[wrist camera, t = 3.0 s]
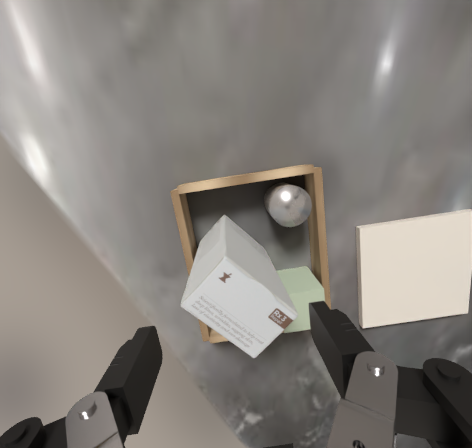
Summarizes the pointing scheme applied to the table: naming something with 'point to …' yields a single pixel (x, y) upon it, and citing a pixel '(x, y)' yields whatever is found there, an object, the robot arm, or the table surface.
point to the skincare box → (237, 289)
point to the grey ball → (288, 204)
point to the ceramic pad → (414, 268)
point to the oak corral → (310, 177)
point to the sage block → (301, 294)
